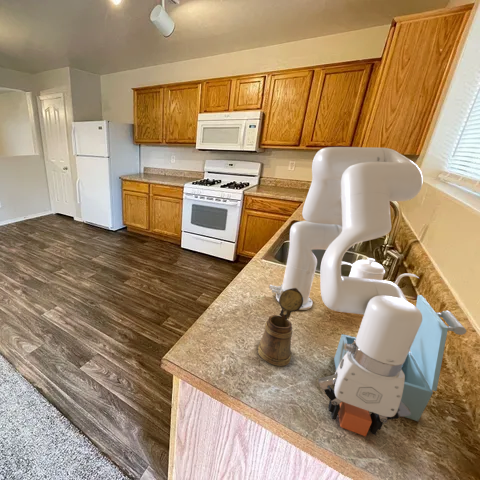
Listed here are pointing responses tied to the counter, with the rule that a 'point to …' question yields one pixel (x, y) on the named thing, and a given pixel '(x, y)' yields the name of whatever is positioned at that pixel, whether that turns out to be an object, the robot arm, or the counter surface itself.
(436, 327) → the lid
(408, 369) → the chest
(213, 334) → the counter surface
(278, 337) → the wooden mug
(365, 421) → the block
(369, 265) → the coffeepot
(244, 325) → the counter surface
